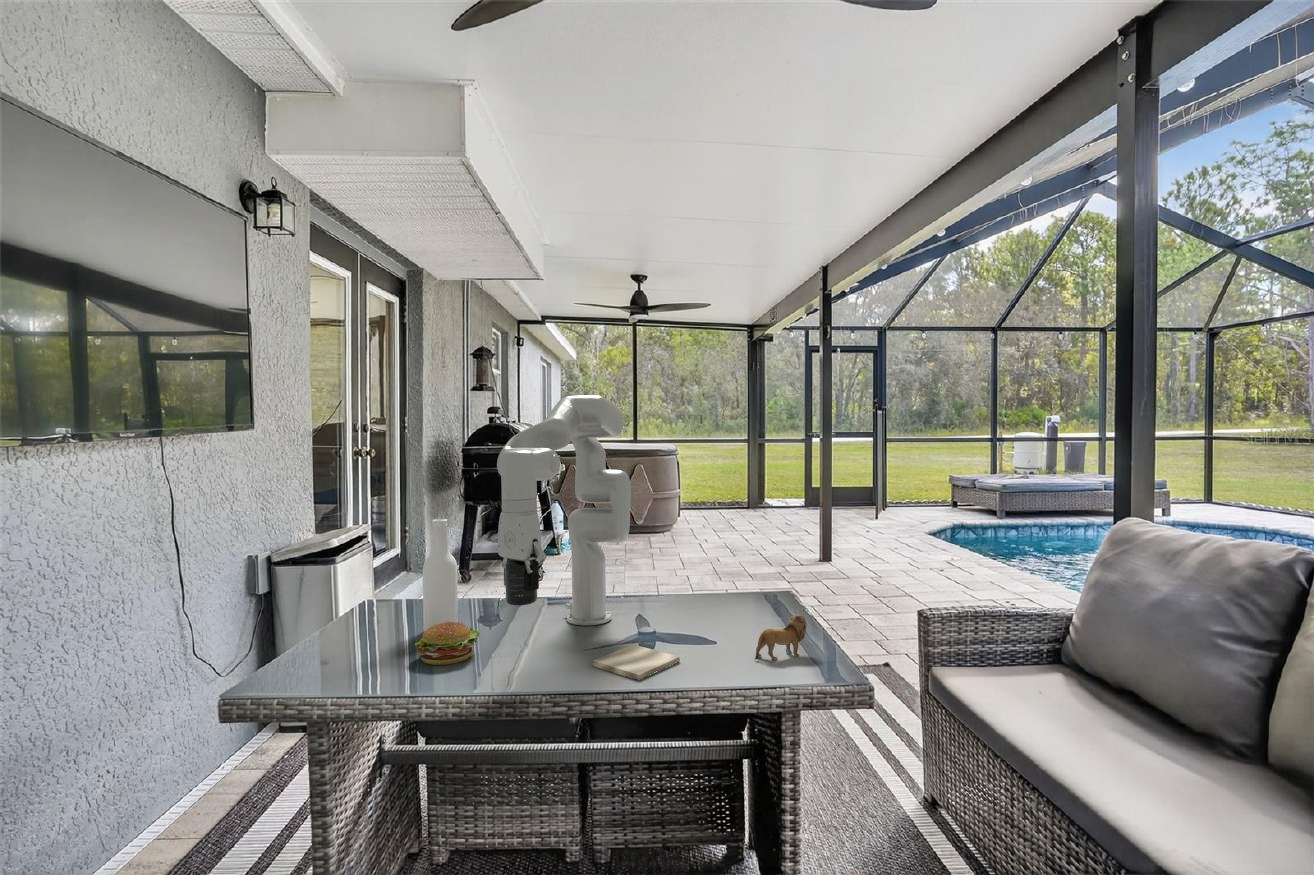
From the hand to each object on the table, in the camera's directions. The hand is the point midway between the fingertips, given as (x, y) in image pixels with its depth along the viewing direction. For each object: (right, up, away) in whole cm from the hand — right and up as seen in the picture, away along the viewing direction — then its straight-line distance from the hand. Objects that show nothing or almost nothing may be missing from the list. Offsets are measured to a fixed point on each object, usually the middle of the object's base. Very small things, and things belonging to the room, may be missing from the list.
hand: (521, 586), depth 140 cm
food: (-19, -20, +11) cm, 29 cm away
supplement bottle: (0, -4, 0) cm, 4 cm away
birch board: (+25, -19, +5) cm, 32 cm away
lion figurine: (+59, -19, +9) cm, 63 cm away
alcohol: (-28, -19, +31) cm, 46 cm away
